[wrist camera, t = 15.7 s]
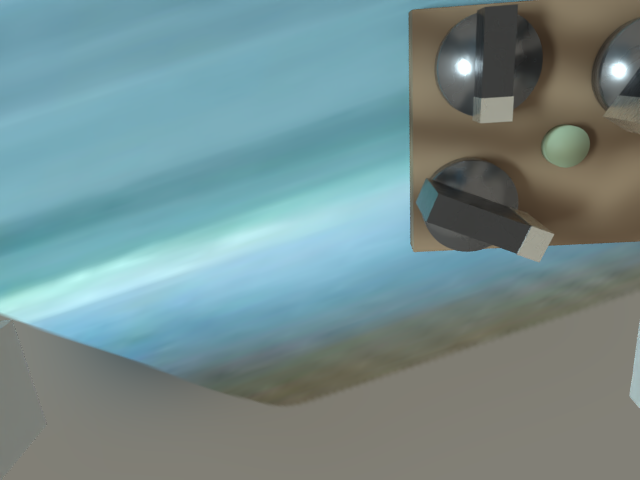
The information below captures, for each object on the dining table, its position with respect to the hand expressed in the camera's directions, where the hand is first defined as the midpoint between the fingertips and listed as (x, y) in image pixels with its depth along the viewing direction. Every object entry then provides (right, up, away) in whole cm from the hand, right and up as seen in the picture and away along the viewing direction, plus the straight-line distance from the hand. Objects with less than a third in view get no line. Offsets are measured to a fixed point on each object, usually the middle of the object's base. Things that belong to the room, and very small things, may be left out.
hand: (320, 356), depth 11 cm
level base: (+17, +11, +28) cm, 35 cm away
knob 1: (+12, +15, +25) cm, 31 cm away
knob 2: (+11, +5, +28) cm, 31 cm away
